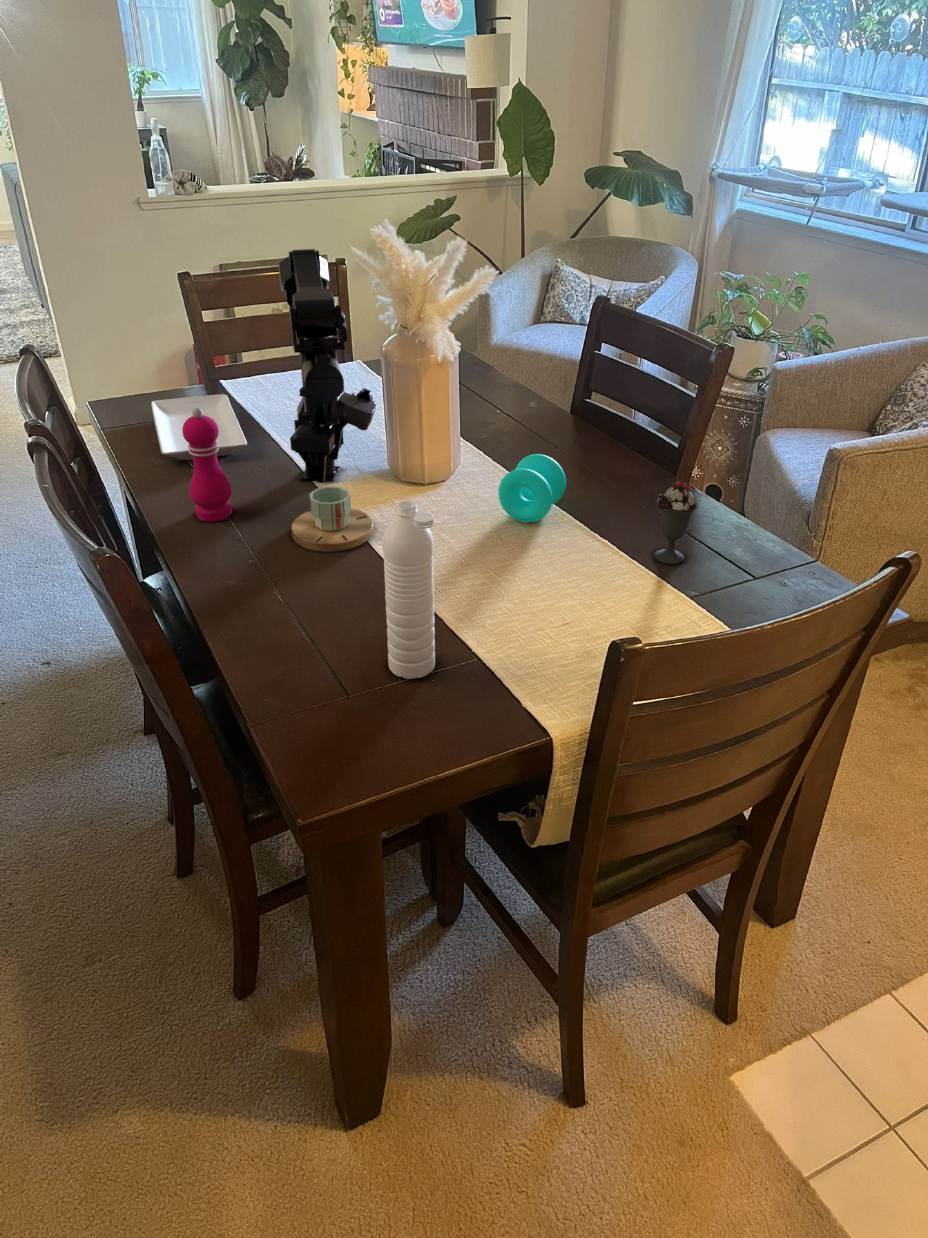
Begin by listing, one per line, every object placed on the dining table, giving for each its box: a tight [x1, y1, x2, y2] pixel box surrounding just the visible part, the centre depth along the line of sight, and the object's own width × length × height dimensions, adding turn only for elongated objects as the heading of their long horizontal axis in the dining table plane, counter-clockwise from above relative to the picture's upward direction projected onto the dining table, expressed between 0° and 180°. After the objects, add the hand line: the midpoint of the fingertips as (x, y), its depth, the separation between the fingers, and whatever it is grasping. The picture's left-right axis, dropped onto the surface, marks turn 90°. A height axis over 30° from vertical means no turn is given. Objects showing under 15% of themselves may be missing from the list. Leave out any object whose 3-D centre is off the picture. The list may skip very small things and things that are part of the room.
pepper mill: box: [182, 408, 233, 523], centre depth 160 cm, size 7×7×20 cm
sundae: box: [653, 471, 699, 565], centre depth 150 cm, size 7×7×15 cm
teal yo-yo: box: [497, 453, 567, 524], centre depth 164 cm, size 10×10×10 cm
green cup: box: [308, 485, 352, 531], centre depth 158 cm, size 7×7×6 cm
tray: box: [150, 393, 248, 461], centre depth 195 cm, size 17×32×4 cm, turn 20°
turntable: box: [291, 507, 374, 553], centre depth 160 cm, size 14×14×2 cm
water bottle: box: [382, 500, 436, 680], centre depth 120 cm, size 9×6×25 cm
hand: (327, 470), depth 154 cm, fingers open, 9 cm apart
